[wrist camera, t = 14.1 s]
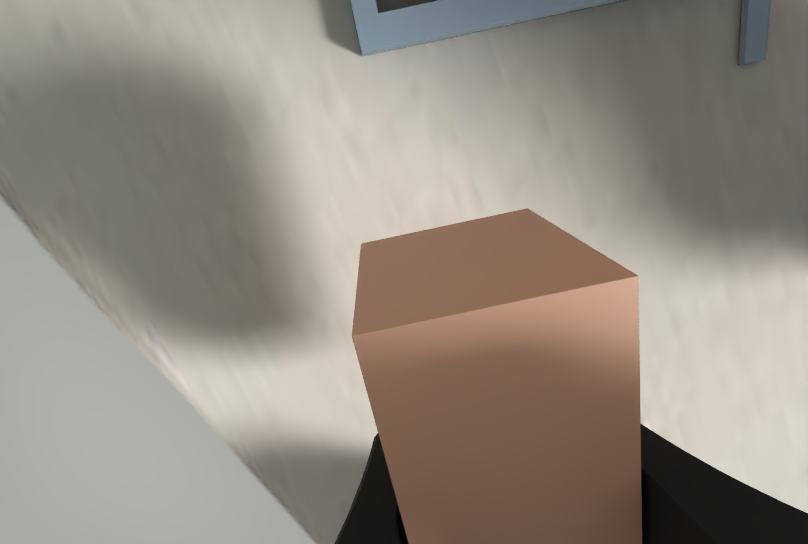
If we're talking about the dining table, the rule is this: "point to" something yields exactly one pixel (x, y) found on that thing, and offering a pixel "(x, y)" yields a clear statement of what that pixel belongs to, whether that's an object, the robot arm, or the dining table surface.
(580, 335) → the pinkish tan block
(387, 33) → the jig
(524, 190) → the dining table surface
